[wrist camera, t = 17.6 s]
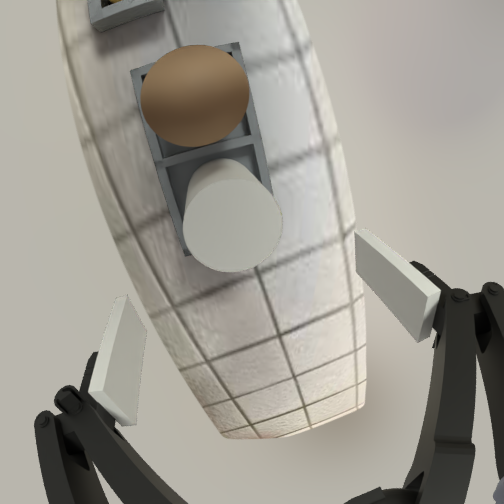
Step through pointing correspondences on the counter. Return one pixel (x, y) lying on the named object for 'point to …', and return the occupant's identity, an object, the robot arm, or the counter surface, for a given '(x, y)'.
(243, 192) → the white stubby cylinder
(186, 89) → the ball
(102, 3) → the grey square holder
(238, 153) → the grey divided tray
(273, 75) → the counter surface
